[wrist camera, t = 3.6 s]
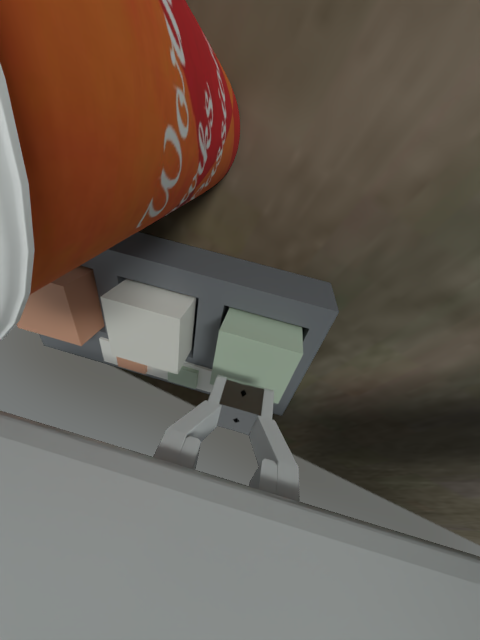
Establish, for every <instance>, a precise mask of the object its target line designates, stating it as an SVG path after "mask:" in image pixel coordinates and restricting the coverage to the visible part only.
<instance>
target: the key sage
mask: <svg viewBox="0 0 480 640" xmlns="http://www.w3.org/2000/svg"><path fill="white" fill-rule="evenodd" d="M302 356H303V334H302V327H301V326H298V325H294V324H290V323H287V322H283V321H279V320H276V319H272V318H269V317H265V316H261V315H258V314H254V313H250V312H247V311H243V310H240V309H236V308H232V307H230V308H229V310H228V312H227V314H226V316H225V319H224V321H223V323H222V325H221V328H220V330H219V334H218V340H217V345H216V351H215V357H214V362H213V368H212V373H211V379H210V384H212V385H214V382H215V379H216V377H217V375H222V376H225V377H228V378H232V379H235V380H238V381H241V382H244V383H245V382H246V383H249V384H253V385H257V386H260V387H264V388H267V389H270V390H274V402H273V403H276V404H278V403H279V401H280V399H281V397H282V395H283V393H284V391H285V389H286V387H287V385H288V383H289V381H290V379H291V377H292V375H293V373H294V371H295V369H296V367H297V366H298V364H299V362H300V360H301V358H302Z"/></svg>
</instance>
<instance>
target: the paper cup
mask: <svg viewBox="0 0 480 640" xmlns="http://www.w3.org/2000/svg"><path fill="white" fill-rule="evenodd" d="M239 137H240V119H239V111H238V106H237V102H236V98H235V95H234V92H233V89H232V87H231V85H230V82H229V80H228V78H227V76H226V74H225V72H224V70H223V68H222V66H221V64H220V62H219V60H218V59H217V57H216V55H215V53H214V51H213V50H212V48H211V46H210V44H209V42H208V40H207V39H206V37H205V35H204V33H203V31H202V30H201V28H200V26H199V24H198V23H197V21H196V19H195V17H194V15H193V14H192V12H191V10H190V8H189V7H188V5H187V3H186V1H185V0H0V341H1V340H2V339H4V338H5V337H6V336H7V334H8V333H9V332H10V331H11V330H12V329H13V328H14V326H15V325H16V324H17V323H18V322H19V321H20V318H21V315H22V313H23V310H24V308H25V305H26V303H27V300H28V297H29V295H30V294H32V293H34V292H36V291H37V290H39V289H41V288H42V287H44V286H46V285H48V284H49V283H51V282H53V281H54V280H56V279H58V278H60V277H61V276H63V275H65V274H66V273H68V272H70V271H72V270H73V269H75V268H77V267H78V266H80V265H82V264H84V263H85V262H87V261H89V260H90V259H92V258H94V257H95V256H97V255H99V254H101V253H102V252H104V251H106V250H107V249H109V248H111V247H113V246H114V245H116V244H118V243H119V242H121V241H123V240H125V239H126V238H128V237H130V236H131V235H133V234H135V233H137V232H138V231H140V230H142V229H144V228H145V227H147V226H149V225H150V224H152V223H154V222H156V221H157V220H159V219H161V218H162V217H164V216H166V215H168V214H169V213H171V212H173V211H174V210H176V209H178V208H179V207H181V206H183V205H184V204H186V203H188V202H189V201H191V200H193V199H194V198H196V197H198V196H199V195H201V194H203V193H204V192H206V191H207V190H209V189H210V188H212V187H213V186H214V185H216V184H217V183H218V182H219V181H220V180H221V179H222V178H223V177H224V176H225V175H226V173H227V172H228V171H229V169H230V167H231V165H232V163H233V161H234V159H235V156H236V153H237V149H238V144H239Z"/></svg>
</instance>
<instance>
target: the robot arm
mask: <svg viewBox="0 0 480 640" xmlns="http://www.w3.org/2000/svg"><path fill="white" fill-rule="evenodd" d="M273 402H274V390H270V389H267V388H264V387H260V386H257V385H253V384H249V383H246V382H245V383H244V382H241V381H238V380H235V379H232V378H228V377H225V376H222V375H217V377H216V379H215V382H214V385H213V388H212V391H211V393H210V396H209V399H208V401H206V400H205V401H203V402H202V403H201V404H199V405H198V406H196V407H195V408H194V409H192V410H191V411H190V412H188V413H187V414H186V415H184V416H183V417H182V418H180V419H179V420H178V421H176V422H175V423H173V424H172V425H171V426H169V427H168V428H167V429H166V432H165V433H164V436H163V438H162V440H161V442H160V444H159V446H158V448H157V450H156V452H155V454H154V456H153V457H151V456H148V455H144V454H141V453H138V452H135V451H131V450H128V449H125V448H121V447H118V446H114V445H111V444H108V443H105V442H102V441H98V440H95V439H92V438H89V437H85V436H82V435H79V434H75V433H72V432H69V431H65V430H62V429H59V428H56V427H52V426H49V425H45V424H42V423H39V422H35V421H32V420H29V419H26V418H23V417H19V416H16V415H13V414H9V413H6V412H3V411H0V640H480V557H479V556H476V555H473V554H469V553H466V552H463V551H460V550H456V549H453V548H450V547H446V546H443V545H440V544H436V543H433V542H430V541H427V540H423V539H420V538H417V537H413V536H410V535H407V534H404V533H400V532H397V531H394V530H391V529H387V528H384V527H381V526H377V525H374V524H371V523H368V522H364V521H361V520H358V519H354V518H351V517H348V516H345V515H341V514H338V513H335V512H331V511H328V510H325V509H322V508H318V507H315V506H312V505H309V504H305V503H302V502H299V467H298V465H297V464H296V461H295V459H294V457H293V455H292V453H291V451H290V449H289V447H288V445H287V443H286V441H285V439H284V437H283V436H282V434H281V432H280V430H279V428H278V426H277V424H276V422H275V420H272V415H273ZM217 426H219V427H223V428H227V429H231V430H234V431H237V432H240V433H244V434H246V435H249V438H250V441H251V444H252V447H253V450H254V453H255V457H256V460H257V463H258V466H259V467H258V469H257V470H256V472H255V474H254V476H253V477H252V479H251V481H250V484H249V486H246V485H242V484H239V483H236V482H233V481H230V480H227V479H223V478H220V477H217V476H213V475H210V474H207V473H203V472H200V471H197V470H195V468H196V464H197V459H198V454H199V449H200V444H201V441H202V440H203V439H204V438H205V437H207V436H208V435H209V434H210V433H211V432H212V431H213V430H214V429H215V428H216V427H217Z"/></svg>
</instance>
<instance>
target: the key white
mask: <svg viewBox="0 0 480 640" xmlns="http://www.w3.org/2000/svg"><path fill="white" fill-rule="evenodd" d="M100 298H101V303H102V308H103V313H104V318H105V323H106V328H107V333H108V338H109V343H110V348H111V353H112V355H113V356H116V357H120V358H123V359H127V360H130V361H133V362H137V363H140V364H144V365H147V366H150V367H154V368H157V369H161V370H164V371H167V372H171V373H174V374H178V373H179V371H180V369H181V367H182V366H183V364H184V362H185V360H186V358H187V357H188V355H189V353H190V351H191V349H192V339H193V328H194V317H195V306H196V297H193V296H189V295H185V294H182V293H178V292H174V291H171V290H167V289H164V288H160V287H156V286H153V285H149V284H145V283H142V282H138V281H135V280H131V279H125V280H124V281H122V282H121V283H120V284H118V285H117V286H115V287H114V288H112V289H111V290H109V291H108V292H107V293H105V294H104V295H102V296H101V297H100Z"/></svg>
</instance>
